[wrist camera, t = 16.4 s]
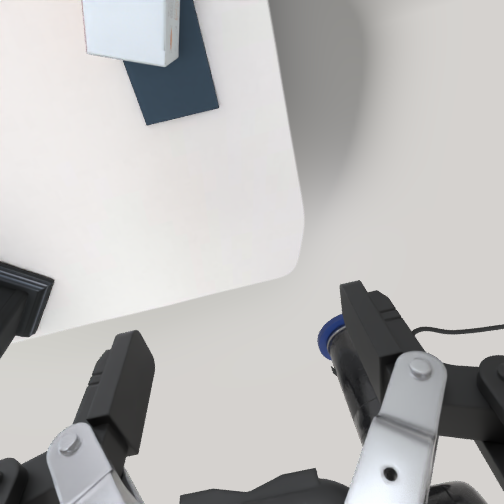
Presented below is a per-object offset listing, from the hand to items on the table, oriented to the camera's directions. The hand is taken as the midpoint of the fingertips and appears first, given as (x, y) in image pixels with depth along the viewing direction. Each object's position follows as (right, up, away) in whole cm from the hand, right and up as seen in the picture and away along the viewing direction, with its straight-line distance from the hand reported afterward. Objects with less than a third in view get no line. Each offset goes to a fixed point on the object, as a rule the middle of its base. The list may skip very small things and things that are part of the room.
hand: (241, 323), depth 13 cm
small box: (-9, +25, +18) cm, 32 cm away
